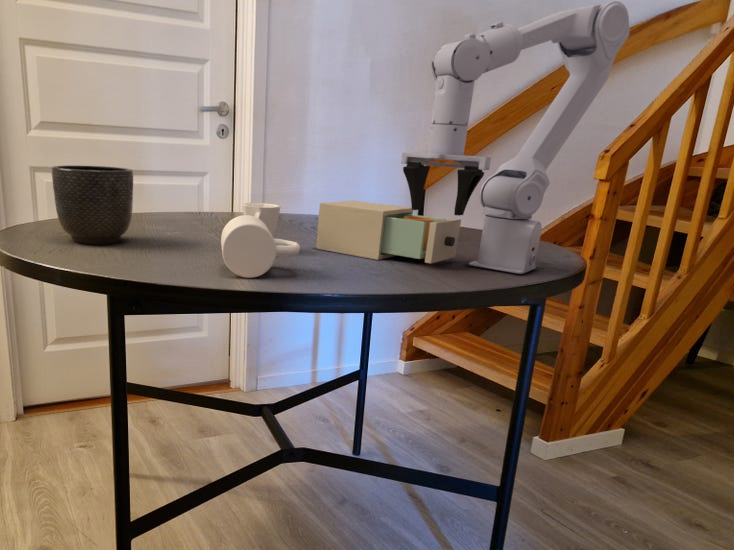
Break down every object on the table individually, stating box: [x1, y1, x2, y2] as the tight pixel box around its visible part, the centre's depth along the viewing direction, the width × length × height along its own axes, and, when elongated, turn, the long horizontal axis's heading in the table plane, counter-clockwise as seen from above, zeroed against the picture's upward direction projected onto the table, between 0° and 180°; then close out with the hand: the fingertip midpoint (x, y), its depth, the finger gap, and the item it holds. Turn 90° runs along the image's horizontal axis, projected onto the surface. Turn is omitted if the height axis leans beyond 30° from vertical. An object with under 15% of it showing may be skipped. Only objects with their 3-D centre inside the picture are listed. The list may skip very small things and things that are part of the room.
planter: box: [51, 165, 134, 246], centre depth 111 cm, size 14×14×13 cm
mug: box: [220, 214, 301, 279], centre depth 94 cm, size 12×10×8 cm
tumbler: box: [404, 216, 433, 251], centre depth 111 cm, size 5×5×6 cm
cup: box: [241, 202, 281, 238], centre depth 112 cm, size 7×10×8 cm
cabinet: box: [316, 199, 414, 261], centre depth 117 cm, size 14×12×9 cm
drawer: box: [381, 213, 462, 264], centre depth 111 cm, size 14×10×7 cm
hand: (437, 212), depth 103 cm, fingers open, 7 cm apart
